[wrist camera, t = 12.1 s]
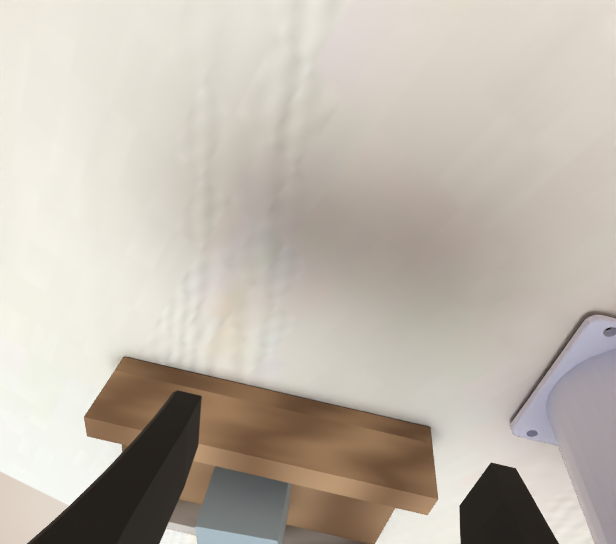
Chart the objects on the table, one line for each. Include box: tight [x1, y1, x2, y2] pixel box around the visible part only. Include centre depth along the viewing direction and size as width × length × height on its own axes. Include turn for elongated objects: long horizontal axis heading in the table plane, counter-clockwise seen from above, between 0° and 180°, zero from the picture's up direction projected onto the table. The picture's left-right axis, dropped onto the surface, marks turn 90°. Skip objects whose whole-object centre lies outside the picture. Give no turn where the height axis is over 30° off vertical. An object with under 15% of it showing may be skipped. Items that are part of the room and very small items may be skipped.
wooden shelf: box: [84, 357, 438, 544], centre depth 26 cm, size 17×13×4 cm
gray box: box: [195, 466, 291, 544], centre depth 25 cm, size 4×6×5 cm, turn 176°
